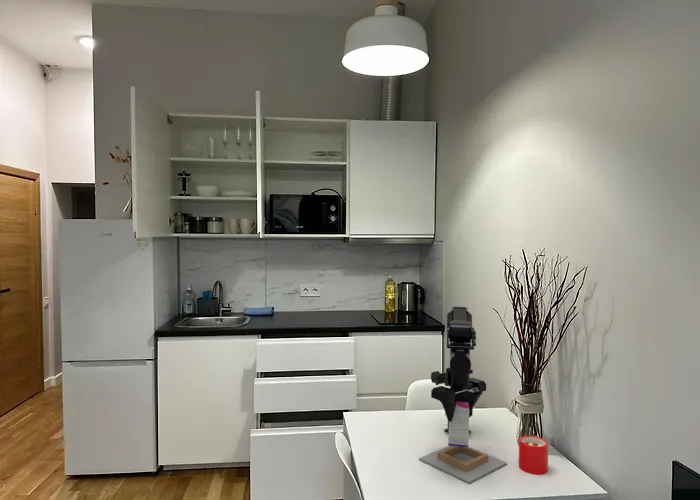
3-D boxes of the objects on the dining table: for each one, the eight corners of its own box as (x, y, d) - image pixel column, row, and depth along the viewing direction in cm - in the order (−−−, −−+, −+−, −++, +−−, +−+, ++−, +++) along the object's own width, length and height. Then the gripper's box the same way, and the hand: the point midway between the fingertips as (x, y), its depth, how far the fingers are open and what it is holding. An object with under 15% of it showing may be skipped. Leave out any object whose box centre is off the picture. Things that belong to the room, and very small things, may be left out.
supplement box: (469, 447, 140) (469, 408, 139) (448, 445, 141) (448, 406, 141) (468, 439, 145) (469, 401, 145) (448, 437, 147) (448, 400, 146)
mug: (549, 459, 146) (550, 433, 145) (546, 477, 135) (547, 449, 135) (521, 454, 149) (522, 428, 149) (516, 471, 138) (517, 443, 138)
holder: (457, 444, 156) (457, 436, 156) (506, 464, 142) (507, 455, 142) (418, 460, 144) (419, 451, 144) (469, 484, 130) (469, 474, 130)
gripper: (458, 355, 155) (457, 404, 155) (417, 364, 143) (416, 417, 144) (487, 362, 146) (486, 414, 147) (447, 373, 134) (446, 429, 135)
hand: (458, 418), depth 143 cm, fingers closed on supplement box, 8 cm apart
